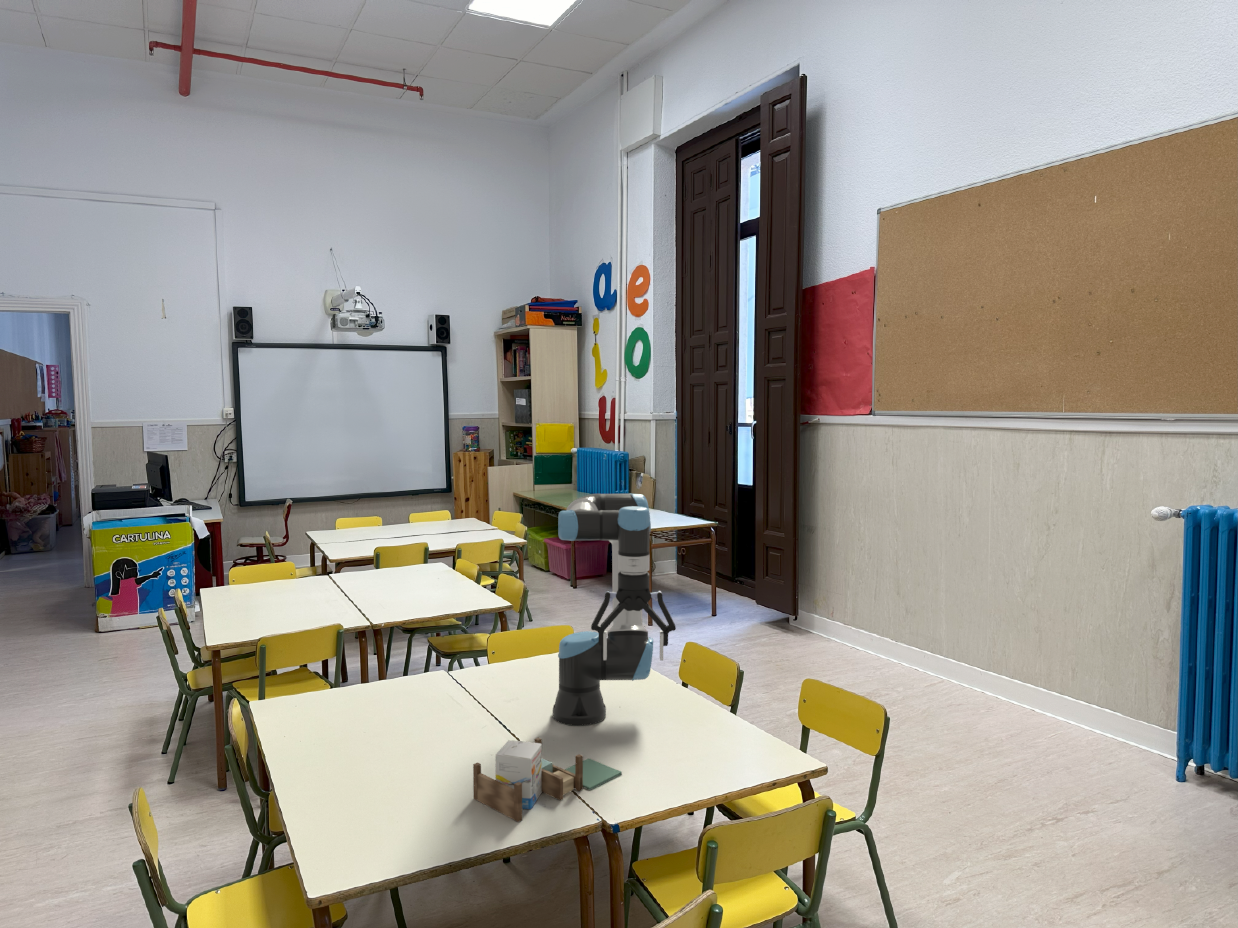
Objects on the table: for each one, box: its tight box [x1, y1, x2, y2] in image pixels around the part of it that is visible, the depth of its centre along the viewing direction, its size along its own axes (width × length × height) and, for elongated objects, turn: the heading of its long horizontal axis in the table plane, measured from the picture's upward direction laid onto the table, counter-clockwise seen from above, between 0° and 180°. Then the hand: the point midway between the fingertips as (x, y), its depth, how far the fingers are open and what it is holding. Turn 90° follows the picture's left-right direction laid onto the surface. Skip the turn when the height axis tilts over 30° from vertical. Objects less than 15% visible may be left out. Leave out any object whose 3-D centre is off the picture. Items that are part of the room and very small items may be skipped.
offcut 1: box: [542, 758, 554, 773], centre depth 189 cm, size 5×4×2 cm
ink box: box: [494, 739, 543, 810], centre depth 180 cm, size 9×8×12 cm
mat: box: [564, 758, 623, 791], centre depth 192 cm, size 11×11×1 cm
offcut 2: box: [553, 771, 575, 796], centre depth 184 cm, size 5×4×3 cm
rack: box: [472, 737, 584, 823], centre depth 182 cm, size 15×20×8 cm
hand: (633, 658), depth 194 cm, fingers open, 13 cm apart
